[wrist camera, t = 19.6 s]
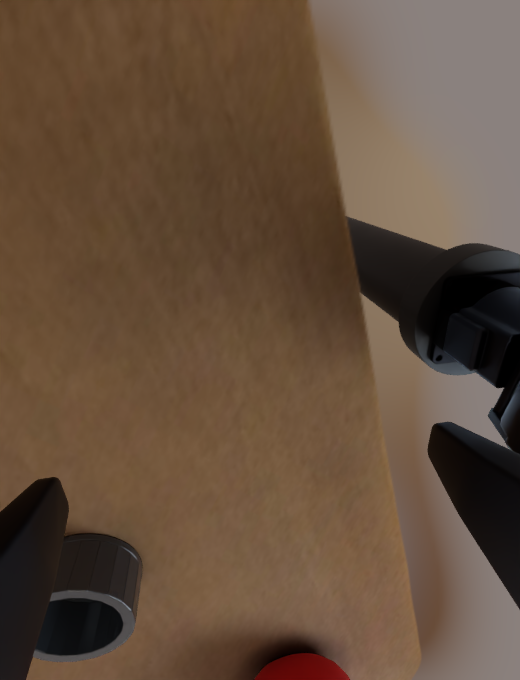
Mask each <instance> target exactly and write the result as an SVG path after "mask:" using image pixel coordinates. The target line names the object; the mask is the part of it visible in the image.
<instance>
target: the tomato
mask: <svg viewBox="0 0 520 680" xmlns="http://www.w3.org/2000/svg"><path fill="white" fill-rule="evenodd" d="M254 680H350V679H349V677H348V675H347V674H346V673H345V672H344V671H343V670H342V669H341V668H340V667H339V666H338V665H337V664H336V663H335V662H334V661H331V660H329V659H327V658H325V657H323V656H320V655H317V654H311V653H298V654H292V655H288V656H285V657H282V658H279V659H277V660H275V661H273V662H271V663H269V664H267V665H266V666H265V667H263V669H262V670H261V671H260V672H259V674H258V675H257V676H256V677H255V679H254Z"/></svg>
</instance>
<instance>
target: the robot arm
mask: <svg viewBox="0 0 520 680" xmlns="http://www.w3.org/2000/svg"><path fill="white" fill-rule="evenodd" d="M452 282H453V285H452V286H451V287H450V284H451V283H452ZM437 356H439V357H438V358H436V357H437ZM429 357H430V360H431V361H432V362H433V363H434V364H444V363H453V362H459V363H460V364H461V365H463V366H464V367H465V368H467V369H468V370H470V371H475V372H476V373H477V374H479V375H480V376H481V377H483V378H484V379H486V380H487V381H488V382H490V383H491V384H492V385H494V386H495V387H496V388H504V389H503V392H502V394H501V395H500V397H499V399H498V401H497V403H496V405H495V407H494V408H492V409H491V410H490V412H489V414H488V417H489V418H490V420H491V421H492V423H493V424H494V426H495V427H496V429H497V430H498V432H499V433H500V435H501V436H502V438H503V439H504V440H505V443H506V445H507V446H508V448H509V449H510V450H509V449H507V448H505V447H503V446H501V445H499V444H497V443H495V442H492V441H490V440H488V439H486V438H484V437H482V436H480V435H477V434H475V433H473V432H471V431H469V430H467V429H465V428H462V427H460V426H458V425H456V424H454V423H452V422H444V423H436V424H434V425H433V427H432V430H431V434H430V440H429V444H428V455H429V458H430V460H431V462H432V464H433V466H434V468H435V470H436V472H437V474H438V476H439V477H440V480H441V482H442V484H443V486H444V487H445V489H446V491H447V493H448V495H449V497H450V499H451V501H452V503H453V505H454V506H455V508H456V510H457V512H458V514H459V516H460V517H461V519H462V520H463V522H464V524H465V525H466V527H467V528H468V530H469V531H470V533H471V535H472V536H473V538H474V539H475V540H476V542H477V544H478V545H479V547H480V549H481V550H482V552H483V553H484V555H485V556H486V558H487V559H488V561H489V563H490V564H491V566H492V567H493V569H494V570H495V572H496V573H497V575H498V576H499V578H500V579H501V581H502V583H503V584H504V586H505V587H506V589H507V590H508V592H509V593H510V595H511V597H512V598H513V600H514V601H515V603H516V604H517V606H518V607H519V609H520V270H517V271H505V272H494V273H482V274H470V275H459V276H450V277H448V278H446V279H445V281H444V283H443V287H442V292H441V297H440V303H439V308H438V311H437V316H436V321H435V327H434V332H433V338H432V346H431V351H430V356H429ZM68 512H69V505H68V501H67V498H66V496H65V493H64V490H63V488H62V485H61V482H60V480H59V479H58V478H56V477H51V478H44V479H39V480H36V481H35V482H34V483H32V484H31V485H30V486H29V487H28V488H27V489H26V490H25V491H23V492H22V493H21V494H20V495H19V496H18V497H17V498H16V499H14V500H13V501H12V502H11V503H10V504H9V505H8V506H7V507H5V508H4V509H3V510H2V511H1V512H0V680H26V677H27V674H28V671H29V667H30V664H31V661H32V658H33V654H34V651H35V648H36V644H37V641H38V638H39V634H40V631H41V628H42V625H43V621H44V618H45V615H46V611H47V608H48V605H49V602H50V598H51V595H52V591H53V588H54V584H55V579H56V575H57V570H58V565H59V559H60V554H61V549H62V544H63V539H64V534H65V528H66V523H67V518H68Z"/></svg>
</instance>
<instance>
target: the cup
mask: <svg viewBox="0 0 520 680" xmlns="http://www.w3.org/2000/svg"><path fill="white" fill-rule="evenodd" d="M141 578H142V561H141V558H140V556H139V554H138V553H137V552H136V551H135V549H134V548H132V547H131V546H130V545H129V544H127V543H125V542H123V541H121V540H119V539H116V538H114V537H110V536H106V535H99V534H79V535H72V536H67V537H64V539H63V544H62V549H61V554H60V559H59V565H58V570H57V575H56V579H55V584H54V588H53V591H52V595H51V598H50V602H49V605H48V608H47V611H46V615H45V618H44V621H43V625H42V628H41V631H40V634H39V638H38V641H37V644H36V648H35V651H34V654H33V657H34V658H37V659H40V660H46V661H53V662H73V661H81V660H86V659H91V658H95V657H98V656H101V655H104V654H106V653H109V652H111V651H113V650H114V649H116V648H117V647H119V646H120V645H122V644H123V643H125V642H126V641H127V639H128V638H129V637H130V636H131V634H132V633H133V631H134V627H135V623H136V616H137V608H138V601H139V593H140V585H141Z"/></svg>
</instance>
